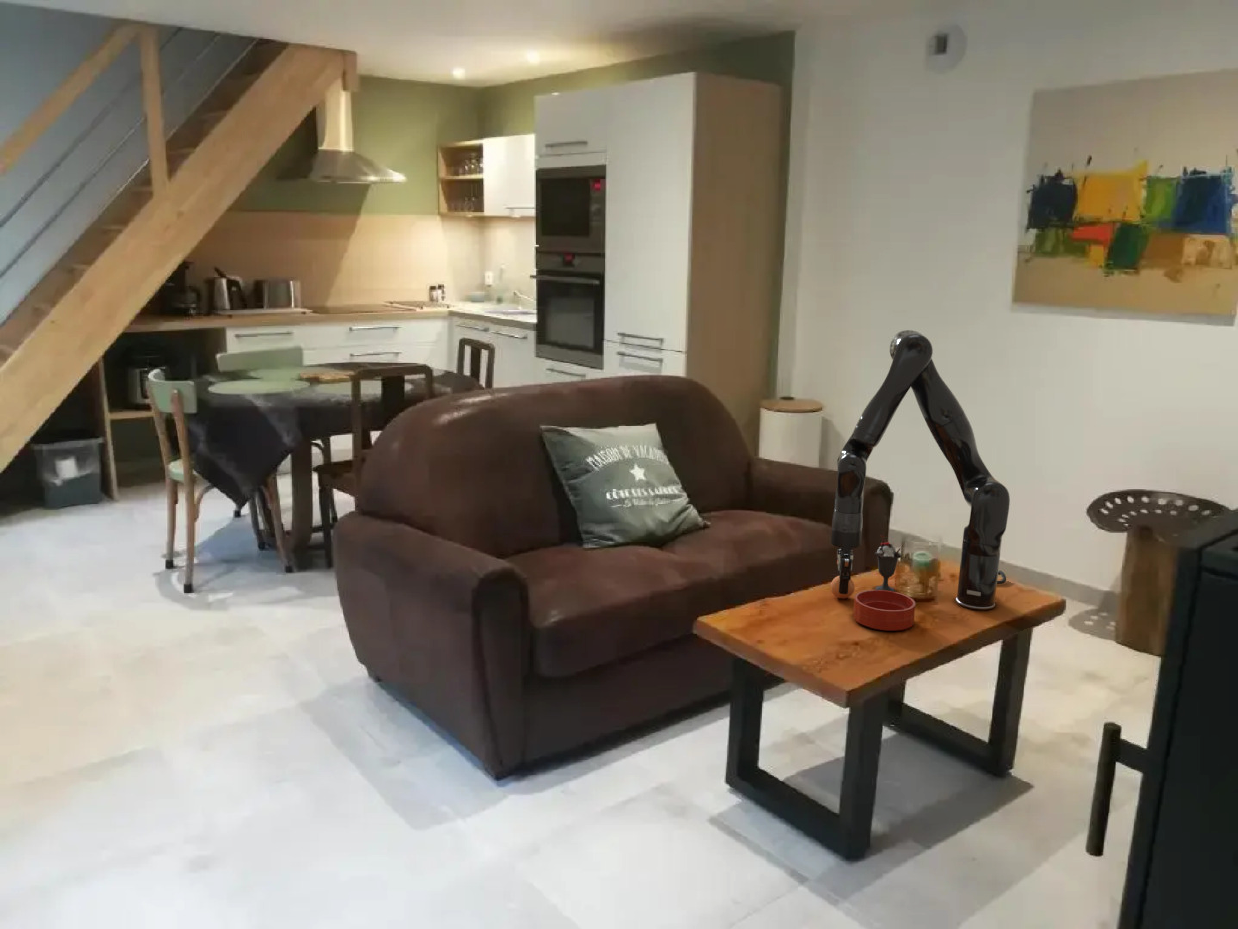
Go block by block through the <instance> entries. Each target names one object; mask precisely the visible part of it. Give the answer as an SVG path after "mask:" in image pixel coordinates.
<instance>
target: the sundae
mask: <svg viewBox="0 0 1238 929" xmlns="http://www.w3.org/2000/svg"><path fill="white" fill-rule="evenodd" d="M880 537H881V538H882V539H883V540H882V542H880V546H879V547H878V549H877V550H876V551H875V552H874V554H875V555H876V556H877V569H878V573H879V575H880V576H881V577H882V578H883V579H882V580H883V581H882V584H881V585H878V586H875V589H874V590H886V591H893V592H896V591H895V589H894V588H893V587H891V586H889V579H890V578H891V577H893V576H894V574H895V572H896V569H897V563H898V560H899V559H900V558H902V554H901V553H900V551H901V548H898V549H897V551H896V546H894V545H893V544H892V543H890V542H889V541H887V539H886V538H885V537H884V534H883V535H881V534H880Z"/></svg>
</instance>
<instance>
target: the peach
mask: <svg viewBox="0 0 1238 929" xmlns="http://www.w3.org/2000/svg"><path fill="white" fill-rule="evenodd" d="M843 575H845V574H844V573H843ZM839 577H840V576H838V575H837V576H835V577H834V578H833V579H832V581H831V583H830V590H831V593H832V594H833V596H835V597H836V598H839V599H848V598H850V597H851V596H852V595H854V591H855V583H854V581H853V579H852V578H851V579H850V580H849V583H848V593H847V594H840V593H839V582H840V579H839Z"/></svg>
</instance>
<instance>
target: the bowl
mask: <svg viewBox="0 0 1238 929" xmlns="http://www.w3.org/2000/svg"><path fill="white" fill-rule="evenodd" d="M853 599H854V600H853V614H852V616H853V619H854V621H855V622H857V623H858V624H860V625H862V626H864V627H868V628H871V629H875V630H878V631H879V630H880V631H888V632H891V631H894V632H895V631H902V630H907V629H909V628H911V627H912V626H914V622H915V615H916V614H915V613H916V601H915V600H914V599H913V598H912V597H910V596H908V595H906V594H903V593H901V592H897V591H894V592H893V591H886V590H876V589H867V590H862V591H860V592H858V593H856V594H855V595H854V598H853Z"/></svg>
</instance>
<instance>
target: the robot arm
mask: <svg viewBox="0 0 1238 929" xmlns="http://www.w3.org/2000/svg"><path fill="white" fill-rule="evenodd" d="M889 354H890V357H891V360H892V362H891V364H890V366H889V370H888V373H887V375H886V377H885V379H884V381H883V382H882V383H881V386H879V389H878V390H877V392H876V393H874V396H872V398H871V399H870V400H869V402H868V404H866V406H865V408H864V409H863V411H862V413H861V415H860V417H859V418H858V420H857V423H856V425H855V426H854V428H853V431H852V433H851V435H850V437H849V438H848V439H847V441H846V443H845V444H844V446H843V447H842V449H841V450H840V453H839V454H838V456H837V461H836V465H837V476H836V477H837V479H836V490H835V495H834V509H833V512H832V521H831V533H830V534H831V536H830V543H831V545H832V546H834V547H837V548H838V549H836V565H837V568H836V569H837V576H840V577H839V579H840V582H839V593H840V594H847V593H848V583H849V580H850V579H852V578H851V574H852V570H853V560H854V552H853V550H852V549H857V548H859V547H860V546H861V545H862V535H863V524H864V523H863V521H864V519H863V517H864V516H863V510H864V508H863V507H864V489H865V483H866V476H867V462H868V460H869V458H870V456H871V454H872V452H873V450H874V448H875V447H877V446H878V445H879V443H880V442H881V441H882V438H883V437H884V434H885V433H886V431H887V429H888V427H889V426H890V424H891V421H892V419H893V417H894V416H895V414H896V412H897V410H898V409H899V406H900V405H901V403H902V401H903V399H904V398H905V397H906V395H907V393H908V392H909V390H910V389H911V390H912V392H913V395H914V397H915V400H916V402H917V405H918V407H919V410H920V412H921V415H922V417H923V419H924V421H925V423H926V426H927V427H928V428H927V429H928V430H929V432H930V433H931V435H932V438H933V439H934V441H935V443H936V444H937V446H938V448H939V449H940V451H941V453H942V454H943V456H944V458H945V459H946V460H947V462H948V463H949V465H950V466H951V469H952V470H953V473H954V475H955V477H956V481H957V482H958V484H959V488H960V491H961V493H962V495H963V498H964V500H965V502H966V504H967V505H968V506H969V507H970V513H969V514H970V515H969V521H968V524H967V525H966V526H965V527H964V528H963V533H962V543H961V544H962V545H961V554H960V562H959V573H958V581H957V592H956V598H955V602H956V603H957V604H958V605H959V606H961V607H963V608H967V609H971V610H977V611H978V610H979V611H985V610H986V611H988V610H991V609H994V608H995V606H996V595H997V594H996V593H997V588H998V585H1002V584H1005V583H1006V581H1007V576H1006V574H1005V572H1004V571H1002V570H999V569H1000V560H1001V549H1002V541H1003V536H1004V535H1005V532H1006V530H1007V524H1008V518H1009V512H1010V505H1011V504H1010V502H1011V497H1010V492H1009V490H1008V488H1007V487H1006V486H1005V485H1004V484H1003V483H1001V482H1000V481H998V480H997V479H996V478H995V477H994V476H993V475H992V473H991V472H990V471H989V469H988V468H987V465H986V464H985V462H984V461H983V459H982V457H981V455H980V454H979V450H978V447H977V442H976V436H975V433H974V430H973V427H972V424H971V422H970V420H969V418H968V416H967V414H966V412H965V411H964V409H963V407H962V405H961V404H960V402H959V400H958V399H957V398H956V395H955V394H954V393H953V391H952V390H951V388H949V386H948V385H947V384H946V382H945V381H944V380H943V378H942V377H941V376H940V373H939V372H938V370H937V367H936V365H935V362H934V360H933V354H934V348H933V345H932V343H931V341H930V340H929V338H927V337H926V335H924V334H922V333H920V332H919V331H917V330H911V329H906V330H905V329H904V330H901V331H898V332H897V333H896V334H895V335H894V336H893V337H892V339H891V341H890V345H889ZM843 573H844V574H845V575H843ZM999 576H1001V577H1002V579H1001V580H998V578H999Z"/></svg>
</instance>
